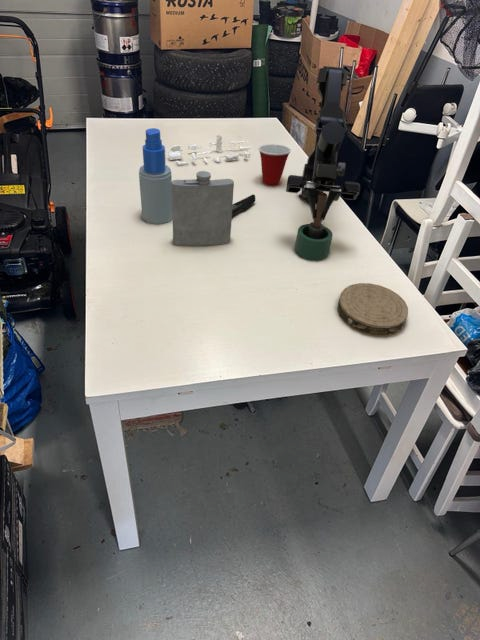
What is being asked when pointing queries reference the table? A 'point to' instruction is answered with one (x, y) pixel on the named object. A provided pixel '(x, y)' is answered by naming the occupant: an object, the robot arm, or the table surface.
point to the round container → (312, 244)
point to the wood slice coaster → (372, 309)
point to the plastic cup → (273, 162)
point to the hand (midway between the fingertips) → (318, 219)
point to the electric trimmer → (243, 204)
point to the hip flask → (202, 210)
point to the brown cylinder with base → (318, 218)
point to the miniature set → (177, 155)
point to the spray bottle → (155, 181)
